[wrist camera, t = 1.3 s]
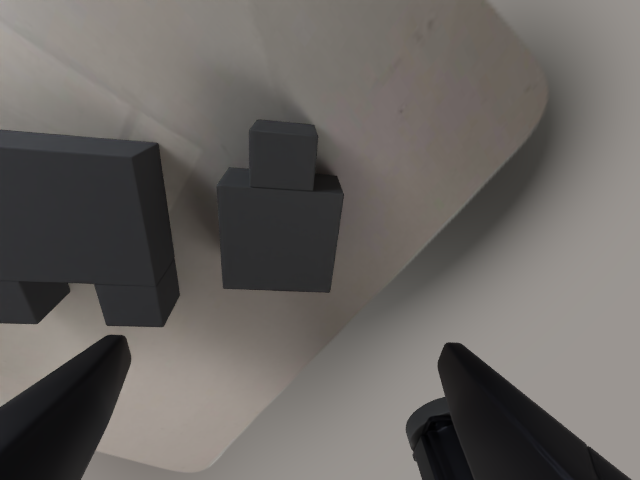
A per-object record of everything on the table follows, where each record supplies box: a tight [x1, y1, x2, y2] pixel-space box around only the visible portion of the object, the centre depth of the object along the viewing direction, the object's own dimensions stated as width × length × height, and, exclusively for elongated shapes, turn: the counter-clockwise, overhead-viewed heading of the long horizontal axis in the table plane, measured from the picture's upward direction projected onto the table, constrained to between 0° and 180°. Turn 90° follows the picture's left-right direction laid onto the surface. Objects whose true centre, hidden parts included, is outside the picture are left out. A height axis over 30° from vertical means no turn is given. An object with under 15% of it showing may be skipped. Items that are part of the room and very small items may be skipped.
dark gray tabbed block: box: [217, 120, 344, 293], centre depth 17 cm, size 6×9×3 cm
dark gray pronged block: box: [0, 130, 180, 327], centre depth 17 cm, size 10×10×3 cm
